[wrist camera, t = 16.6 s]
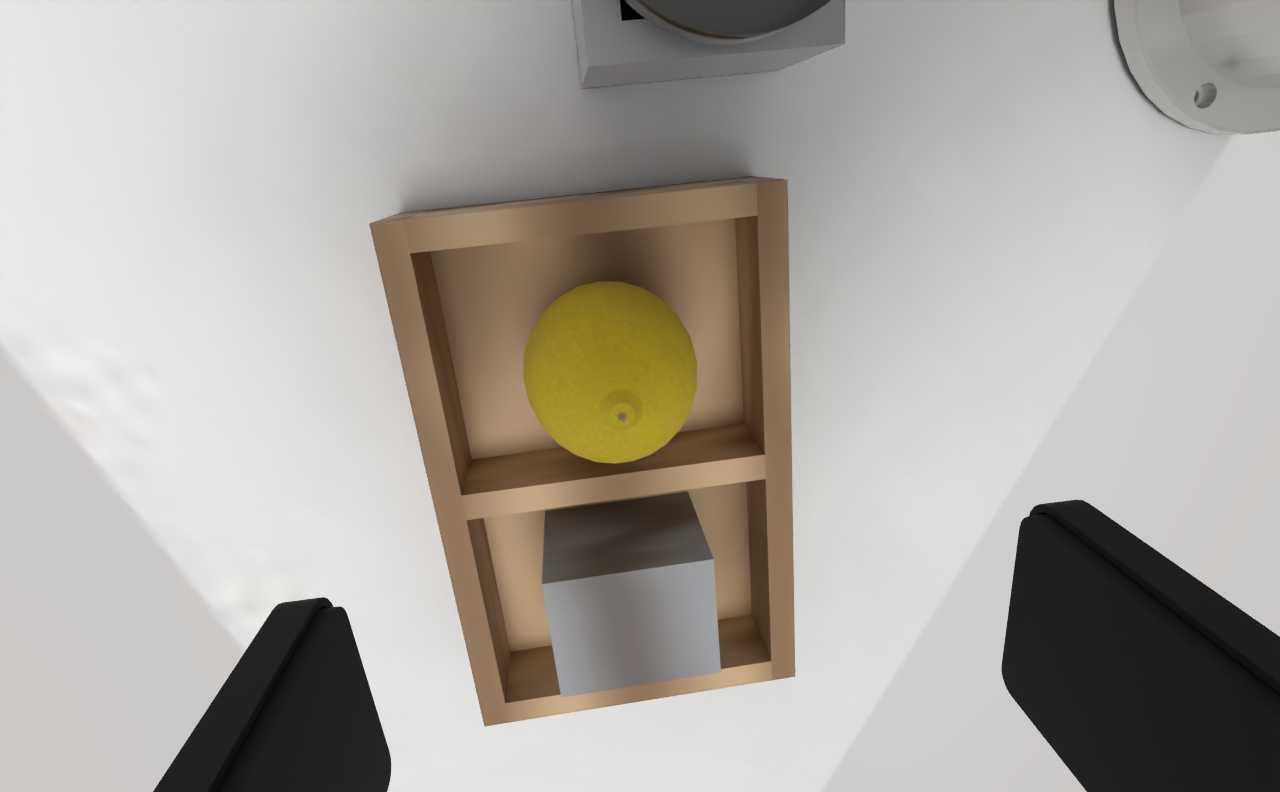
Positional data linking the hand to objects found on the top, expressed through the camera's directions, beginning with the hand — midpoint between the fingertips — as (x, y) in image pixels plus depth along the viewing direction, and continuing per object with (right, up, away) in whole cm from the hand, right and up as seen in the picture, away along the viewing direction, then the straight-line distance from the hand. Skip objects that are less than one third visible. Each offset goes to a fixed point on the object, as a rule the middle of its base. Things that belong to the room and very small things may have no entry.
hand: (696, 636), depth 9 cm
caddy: (-2, +1, +19) cm, 19 cm away
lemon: (-2, +6, +16) cm, 17 cm away
